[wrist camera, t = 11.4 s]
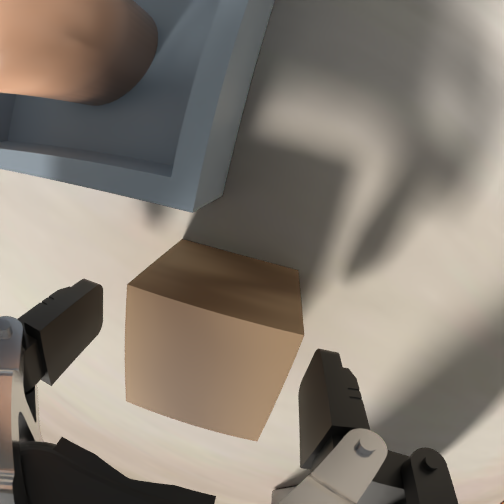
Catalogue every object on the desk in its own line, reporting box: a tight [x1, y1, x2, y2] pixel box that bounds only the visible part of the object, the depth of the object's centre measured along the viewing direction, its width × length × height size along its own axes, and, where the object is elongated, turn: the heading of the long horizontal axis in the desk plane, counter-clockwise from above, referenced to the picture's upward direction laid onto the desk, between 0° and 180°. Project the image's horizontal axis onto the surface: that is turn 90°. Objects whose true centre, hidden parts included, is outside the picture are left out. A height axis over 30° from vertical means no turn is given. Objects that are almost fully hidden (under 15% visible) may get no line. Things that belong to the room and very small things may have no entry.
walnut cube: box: [125, 239, 304, 441], centre depth 11 cm, size 5×5×5 cm
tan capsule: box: [0, 0, 158, 106], centre depth 6 cm, size 5×5×7 cm
